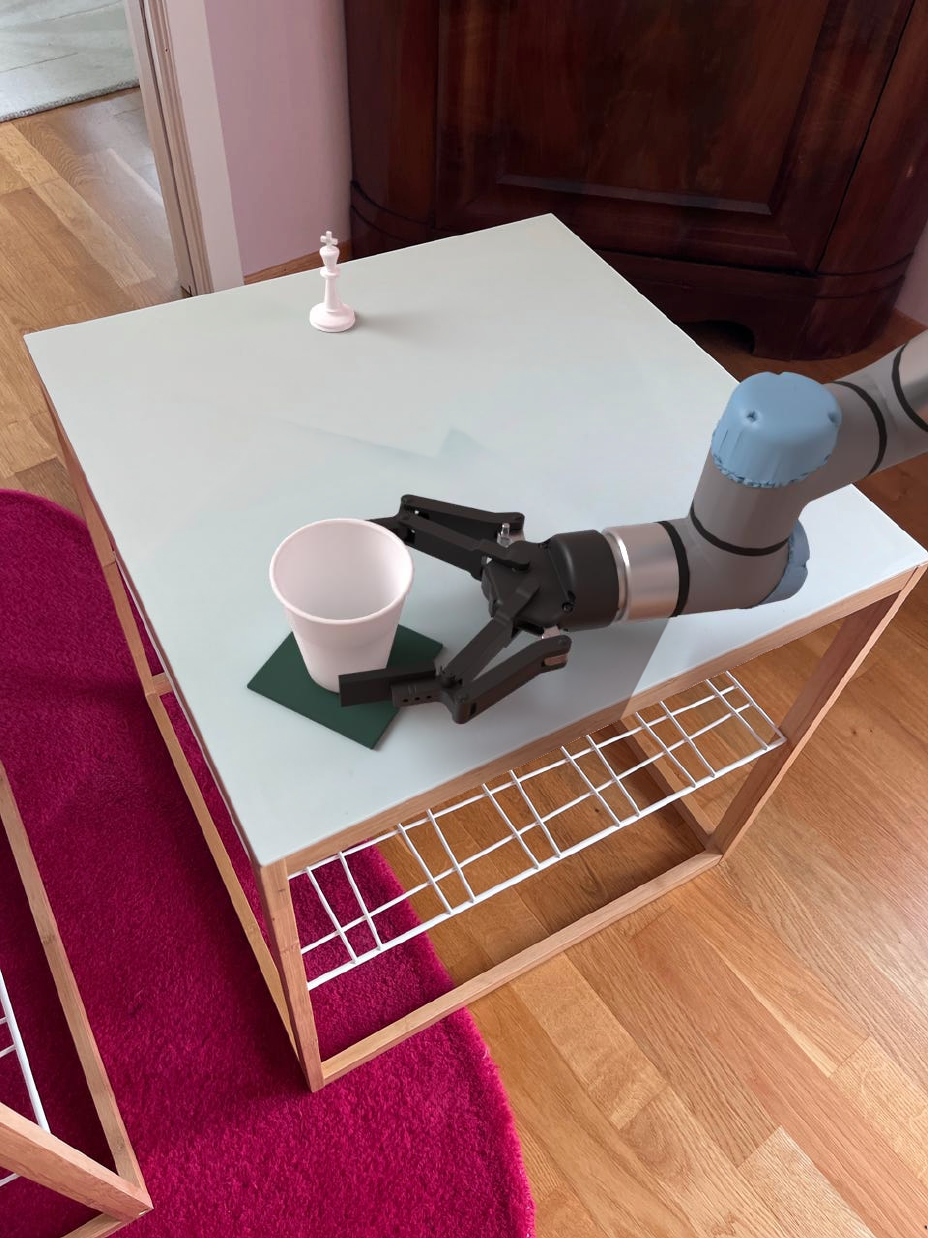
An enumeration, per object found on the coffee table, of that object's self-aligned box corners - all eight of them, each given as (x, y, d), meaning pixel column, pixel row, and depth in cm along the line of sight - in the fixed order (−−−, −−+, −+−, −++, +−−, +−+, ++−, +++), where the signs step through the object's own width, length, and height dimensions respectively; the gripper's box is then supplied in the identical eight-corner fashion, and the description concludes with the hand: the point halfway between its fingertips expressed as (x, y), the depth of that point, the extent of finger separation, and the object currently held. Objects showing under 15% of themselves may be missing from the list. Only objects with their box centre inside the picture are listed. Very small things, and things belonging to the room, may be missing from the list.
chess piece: (320, 302, 105) (315, 215, 97) (361, 312, 104) (360, 225, 97) (302, 326, 102) (296, 238, 94) (345, 336, 101) (342, 249, 94)
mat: (442, 646, 76) (443, 643, 75) (371, 749, 69) (371, 747, 69) (325, 593, 78) (325, 590, 78) (246, 688, 72) (246, 685, 72)
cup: (437, 664, 74) (444, 569, 66) (342, 740, 69) (337, 648, 61) (350, 595, 78) (346, 497, 69) (255, 662, 73) (238, 565, 64)
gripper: (651, 742, 67) (354, 792, 63) (551, 501, 82) (307, 529, 78) (676, 680, 61) (351, 731, 57) (564, 433, 77) (301, 459, 73)
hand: (325, 614), depth 68 cm, fingers open, 13 cm apart
